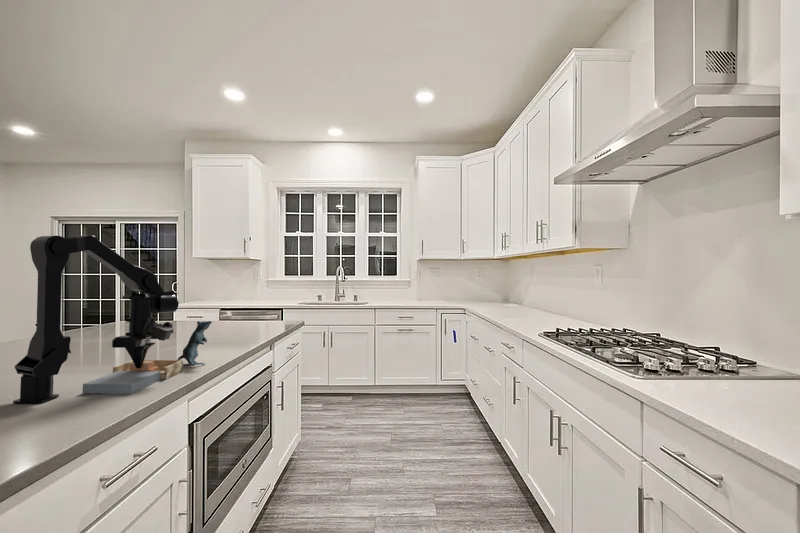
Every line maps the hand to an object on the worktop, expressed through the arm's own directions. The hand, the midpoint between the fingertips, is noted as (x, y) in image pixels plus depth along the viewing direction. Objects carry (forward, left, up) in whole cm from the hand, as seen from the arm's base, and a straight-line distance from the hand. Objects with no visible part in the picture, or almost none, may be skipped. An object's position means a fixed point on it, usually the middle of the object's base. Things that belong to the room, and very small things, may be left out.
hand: (138, 368), depth 132 cm
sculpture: (+23, -7, -4) cm, 24 cm away
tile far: (+5, 0, -3) cm, 5 cm away
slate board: (-8, 0, -3) cm, 9 cm away
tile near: (+3, +1, -1) cm, 3 cm away
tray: (+7, 0, -3) cm, 7 cm away
